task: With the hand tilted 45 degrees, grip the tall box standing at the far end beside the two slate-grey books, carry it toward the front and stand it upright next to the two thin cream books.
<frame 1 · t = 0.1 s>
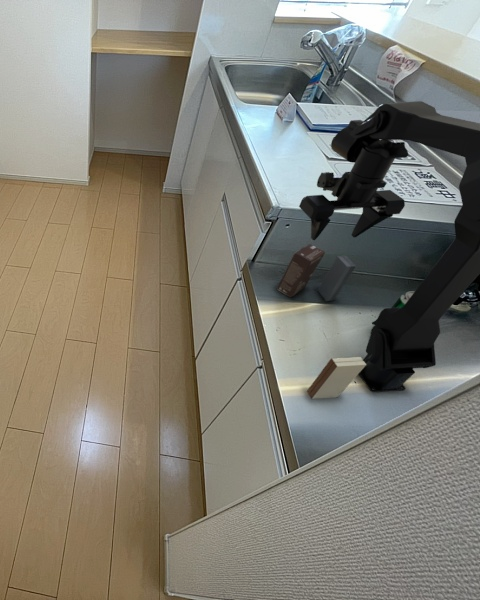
hand: (333, 237, 80), 15 cm above the counter, tool pointing down, fingers open, 9 cm apart
box: (290, 289, 89), on the counter
cream books: (322, 394, 68), on the counter
soda can: (384, 337, 77), on the counter
grey books: (325, 295, 87), on the counter
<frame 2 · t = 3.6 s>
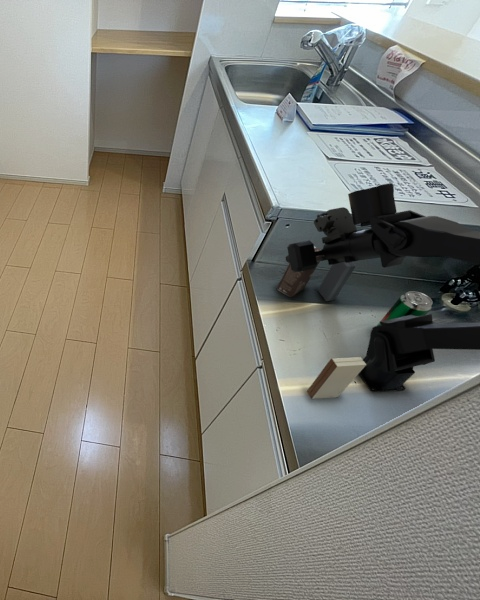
hand: (303, 255, 83), 10 cm above the counter, tool tilted 45°, fingers open, 9 cm apart
nothing on the counter moved.
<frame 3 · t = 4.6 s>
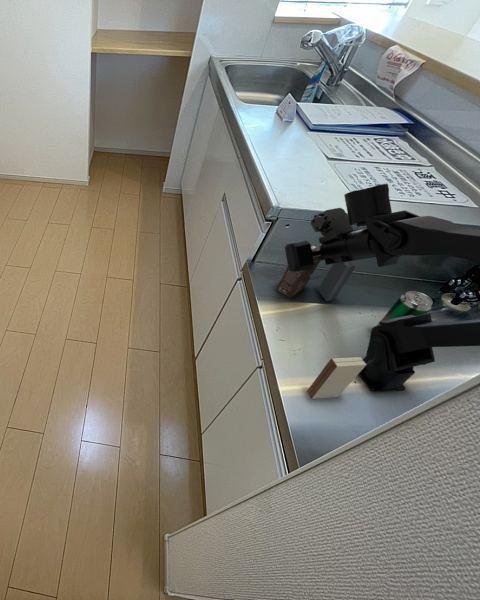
hand: (300, 255, 84), 10 cm above the counter, tool tilted 45°, fingers closed on box, 7 cm apart
box: (290, 289, 89), on the counter, touching gripper
everything else where it was.
when the fingers open (10 cm above the counter, at t = 11.3 s): box stays where it is, on the counter.
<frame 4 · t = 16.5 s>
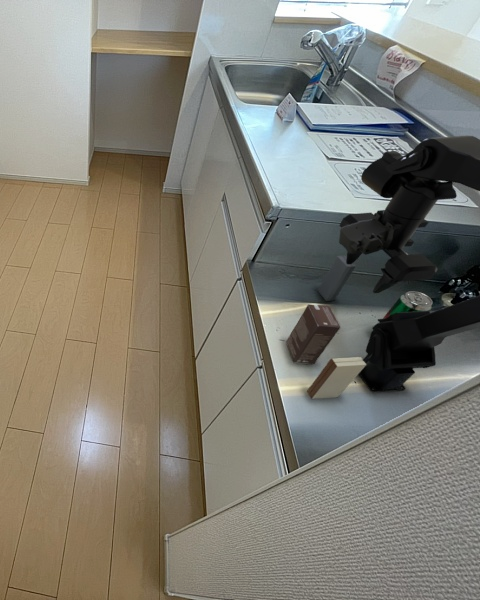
hand: (361, 277, 72), 13 cm above the counter, tool pointing down, fingers open, 9 cm apart
box: (299, 353, 75), on the counter
everything else where it was.
at the end: box inside the target area on the counter beside the cream books (0.4 cm from its centre), on the counter; box tilted 0°; the gripper is holding nothing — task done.
